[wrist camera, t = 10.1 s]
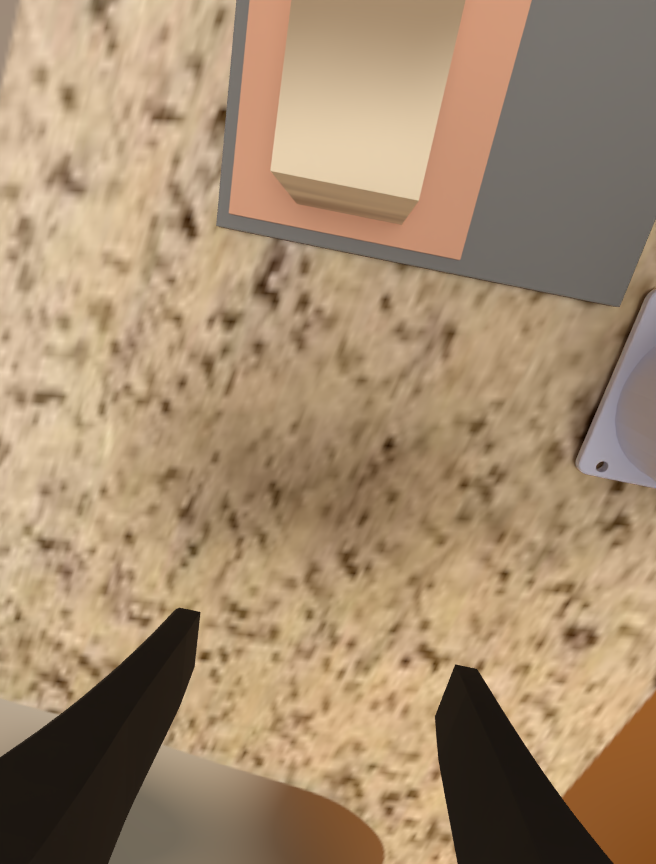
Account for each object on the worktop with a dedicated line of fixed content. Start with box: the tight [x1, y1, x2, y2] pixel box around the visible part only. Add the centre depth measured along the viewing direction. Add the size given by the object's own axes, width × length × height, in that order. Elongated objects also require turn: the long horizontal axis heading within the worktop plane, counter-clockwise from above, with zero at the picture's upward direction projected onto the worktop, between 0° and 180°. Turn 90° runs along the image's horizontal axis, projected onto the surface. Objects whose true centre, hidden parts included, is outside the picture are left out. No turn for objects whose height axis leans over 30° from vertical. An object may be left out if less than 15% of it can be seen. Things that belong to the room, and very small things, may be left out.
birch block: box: [270, 0, 465, 225], centre depth 12 cm, size 7×4×5 cm, turn 169°
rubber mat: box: [216, 0, 656, 307], centre depth 14 cm, size 16×16×1 cm
